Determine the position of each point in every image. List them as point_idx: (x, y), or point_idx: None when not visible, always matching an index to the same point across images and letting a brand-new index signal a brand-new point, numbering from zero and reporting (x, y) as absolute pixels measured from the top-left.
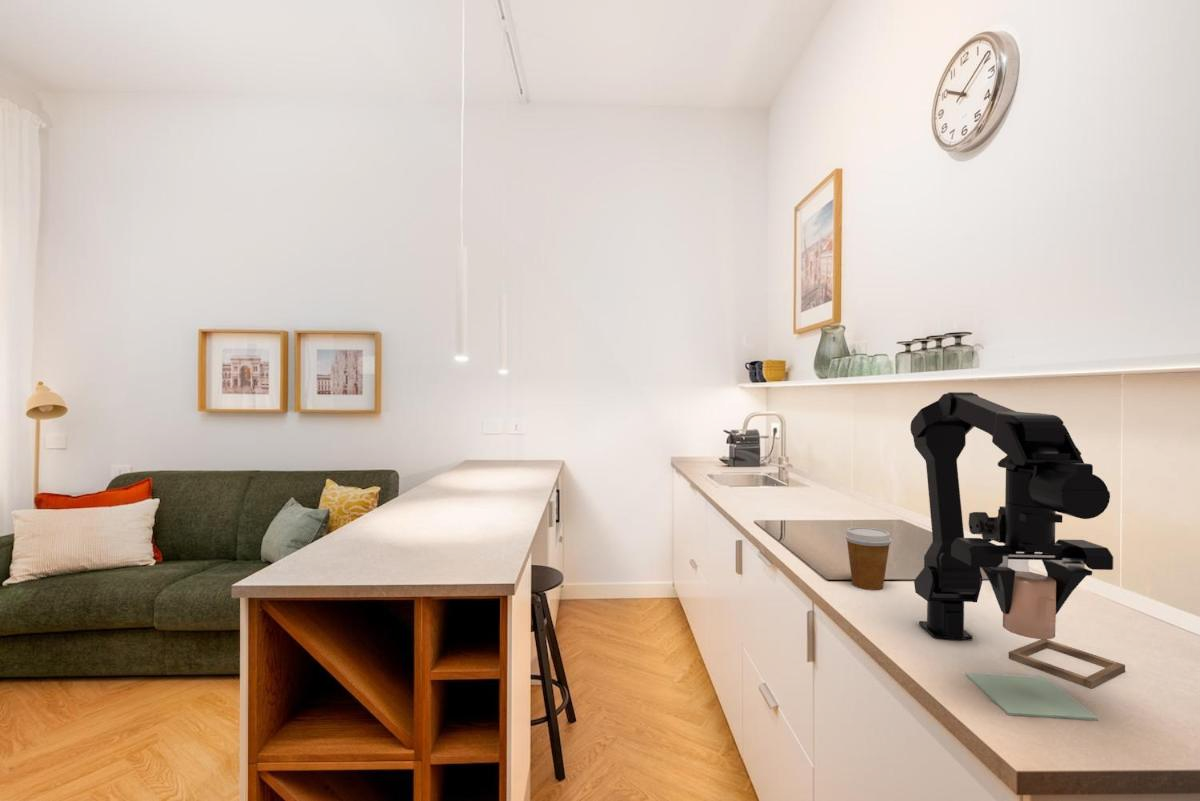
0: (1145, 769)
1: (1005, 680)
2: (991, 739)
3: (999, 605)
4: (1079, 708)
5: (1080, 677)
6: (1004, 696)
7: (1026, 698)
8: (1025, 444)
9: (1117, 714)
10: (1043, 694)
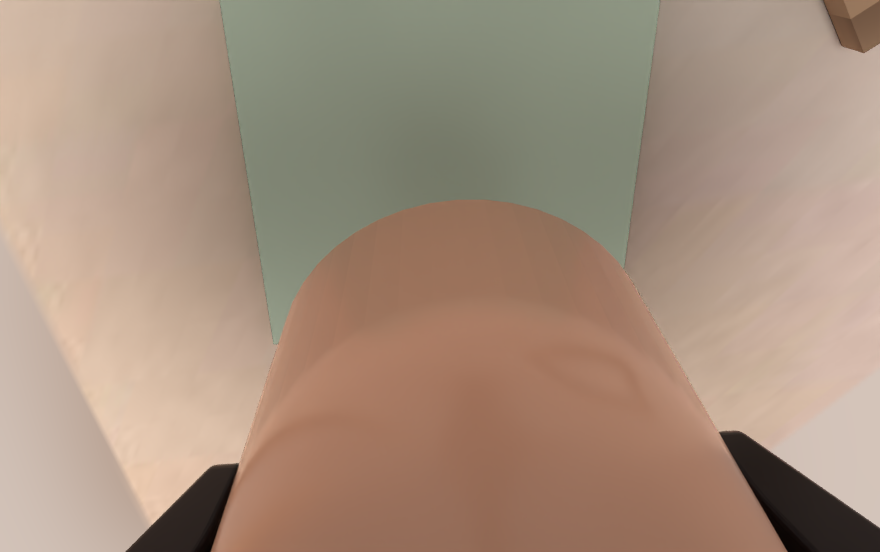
0: None
1: (411, 36)
2: (152, 479)
3: (175, 509)
4: None
5: (847, 5)
6: (319, 217)
7: None
8: None
9: (734, 276)
10: (521, 172)
